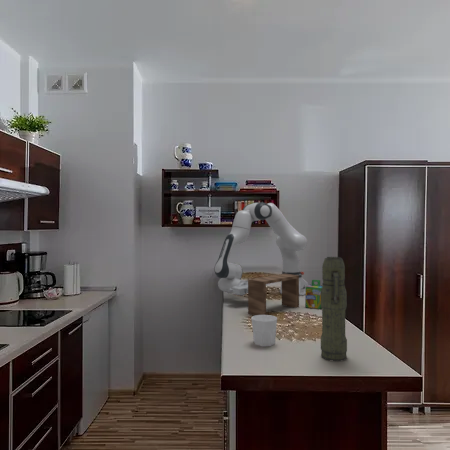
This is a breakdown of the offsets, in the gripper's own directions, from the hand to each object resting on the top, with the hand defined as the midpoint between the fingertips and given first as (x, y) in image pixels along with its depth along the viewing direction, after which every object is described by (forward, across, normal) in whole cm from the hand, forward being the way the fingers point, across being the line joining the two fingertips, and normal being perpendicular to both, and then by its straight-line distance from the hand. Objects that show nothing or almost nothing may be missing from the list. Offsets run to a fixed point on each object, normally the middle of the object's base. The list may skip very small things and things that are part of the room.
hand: (258, 290), depth 215 cm
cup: (+43, -45, +9) cm, 63 cm away
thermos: (+70, -39, +9) cm, 81 cm away
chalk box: (+22, +22, +9) cm, 33 cm away
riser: (+11, 0, +9) cm, 15 cm away
